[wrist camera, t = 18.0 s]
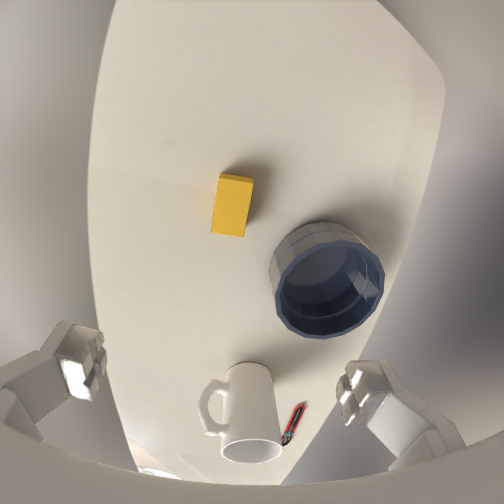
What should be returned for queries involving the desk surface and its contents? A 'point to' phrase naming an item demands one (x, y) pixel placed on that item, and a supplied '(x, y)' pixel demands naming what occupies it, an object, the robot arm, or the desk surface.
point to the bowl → (325, 280)
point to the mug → (245, 415)
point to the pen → (290, 427)
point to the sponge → (232, 204)
